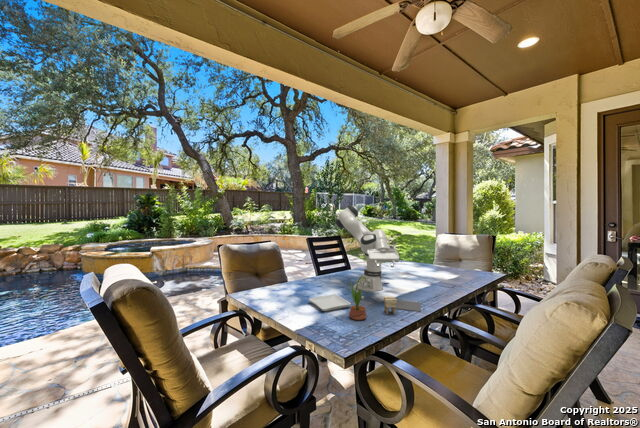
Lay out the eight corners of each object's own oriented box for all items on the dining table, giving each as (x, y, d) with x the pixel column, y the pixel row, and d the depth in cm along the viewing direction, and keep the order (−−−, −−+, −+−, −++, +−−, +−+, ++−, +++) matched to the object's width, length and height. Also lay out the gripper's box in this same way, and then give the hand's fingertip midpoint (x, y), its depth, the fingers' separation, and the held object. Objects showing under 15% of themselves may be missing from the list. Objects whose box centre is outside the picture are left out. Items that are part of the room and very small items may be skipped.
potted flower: (371, 316, 166) (371, 273, 165) (368, 322, 156) (369, 278, 155) (351, 313, 170) (351, 272, 169) (347, 319, 160) (347, 275, 159)
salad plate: (322, 314, 169) (322, 308, 169) (307, 303, 188) (307, 298, 187) (352, 308, 179) (352, 303, 178) (335, 298, 197) (335, 293, 197)
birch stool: (383, 310, 174) (383, 296, 174) (393, 310, 174) (393, 296, 174) (385, 314, 168) (386, 299, 168) (396, 314, 168) (396, 299, 168)
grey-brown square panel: (393, 308, 178) (394, 307, 178) (395, 300, 193) (395, 299, 193) (420, 312, 173) (420, 311, 173) (420, 303, 188) (420, 302, 188)
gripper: (367, 246, 190) (369, 264, 181) (397, 246, 190) (401, 264, 180) (366, 252, 195) (368, 269, 185) (396, 252, 194) (399, 269, 185)
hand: (385, 266), depth 183 cm, fingers open, 8 cm apart
